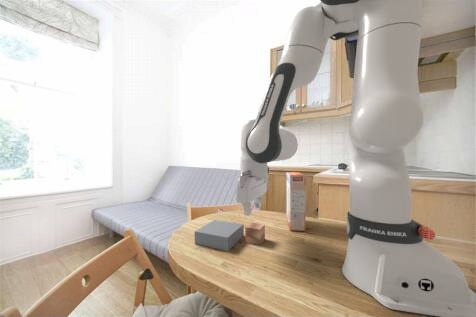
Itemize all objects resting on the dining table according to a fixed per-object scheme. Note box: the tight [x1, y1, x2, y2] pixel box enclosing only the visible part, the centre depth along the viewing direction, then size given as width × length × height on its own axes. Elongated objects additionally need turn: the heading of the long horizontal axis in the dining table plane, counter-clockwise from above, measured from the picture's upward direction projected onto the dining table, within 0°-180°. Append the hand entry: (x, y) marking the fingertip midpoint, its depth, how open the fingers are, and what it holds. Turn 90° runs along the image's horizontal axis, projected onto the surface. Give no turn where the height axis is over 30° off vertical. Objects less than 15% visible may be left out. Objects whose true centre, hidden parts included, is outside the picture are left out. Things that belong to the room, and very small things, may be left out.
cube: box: [244, 222, 266, 246], centre depth 64 cm, size 5×5×5 cm
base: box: [194, 219, 245, 252], centre depth 65 cm, size 12×12×4 cm
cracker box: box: [285, 171, 307, 232], centre depth 78 cm, size 14×6×21 cm, turn 171°
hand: (253, 211), depth 64 cm, fingers open, 8 cm apart
